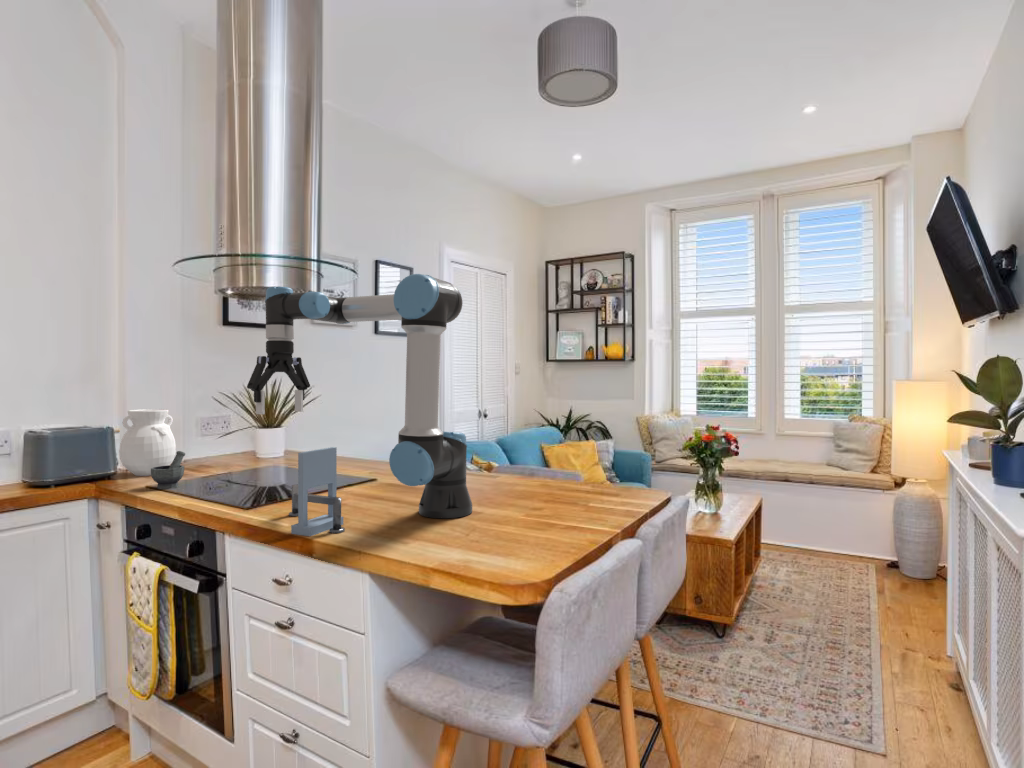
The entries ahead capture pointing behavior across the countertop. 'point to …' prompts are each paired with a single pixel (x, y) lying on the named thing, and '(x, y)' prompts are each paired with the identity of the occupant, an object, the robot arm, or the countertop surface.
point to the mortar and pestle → (169, 473)
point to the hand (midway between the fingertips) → (280, 412)
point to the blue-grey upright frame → (314, 473)
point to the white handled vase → (147, 441)
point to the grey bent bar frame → (322, 500)
